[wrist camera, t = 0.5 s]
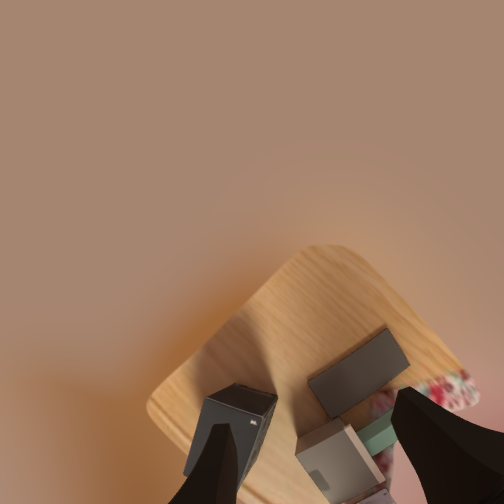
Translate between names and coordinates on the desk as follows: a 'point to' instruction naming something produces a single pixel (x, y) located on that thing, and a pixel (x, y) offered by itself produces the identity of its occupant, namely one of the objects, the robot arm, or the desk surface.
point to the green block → (378, 434)
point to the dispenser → (337, 461)
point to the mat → (359, 374)
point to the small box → (235, 424)
